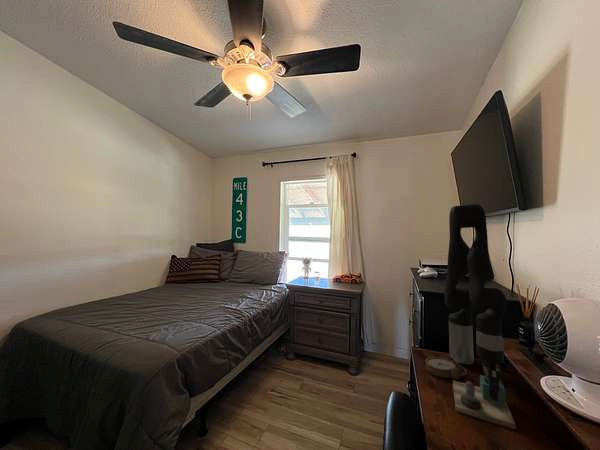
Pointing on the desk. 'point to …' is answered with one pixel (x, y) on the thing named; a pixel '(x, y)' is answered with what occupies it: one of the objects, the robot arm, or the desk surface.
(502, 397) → the teal square frame
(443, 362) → the alarm clock
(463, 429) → the desk surface
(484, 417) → the post board
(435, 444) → the desk surface
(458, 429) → the desk surface
